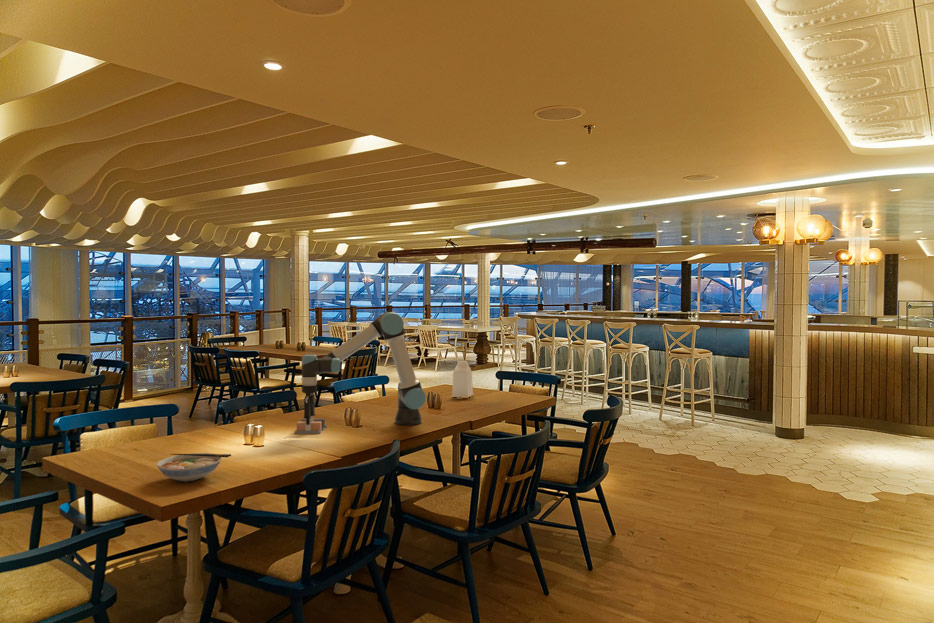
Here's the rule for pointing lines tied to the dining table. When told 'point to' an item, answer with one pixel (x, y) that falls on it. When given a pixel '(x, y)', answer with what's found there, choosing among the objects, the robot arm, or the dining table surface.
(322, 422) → the charcoal bar
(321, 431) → the slot board
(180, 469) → the ramen bowl
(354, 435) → the dining table surface
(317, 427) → the terracotta bar
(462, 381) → the milk
